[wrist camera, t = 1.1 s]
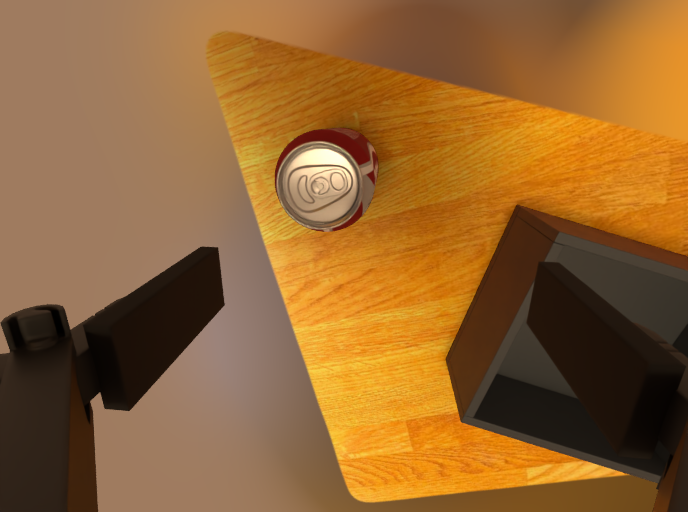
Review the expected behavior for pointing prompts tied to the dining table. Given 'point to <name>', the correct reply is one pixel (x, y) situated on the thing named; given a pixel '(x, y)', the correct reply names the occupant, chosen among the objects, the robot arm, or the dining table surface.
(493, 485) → the dining table surface
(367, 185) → the soda can
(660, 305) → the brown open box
